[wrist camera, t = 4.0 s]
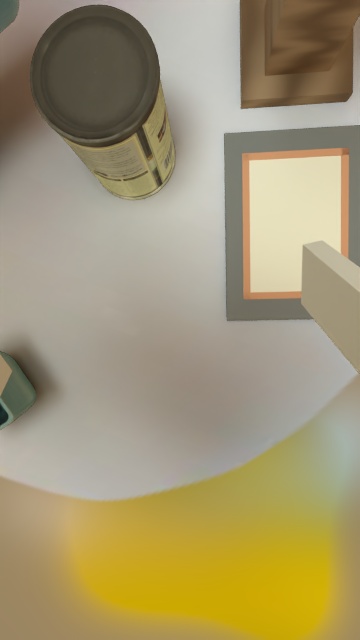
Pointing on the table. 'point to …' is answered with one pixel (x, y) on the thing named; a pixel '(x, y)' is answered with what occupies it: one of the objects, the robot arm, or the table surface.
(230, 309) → the pad
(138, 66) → the coffee can
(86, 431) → the table surface
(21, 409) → the flower pot
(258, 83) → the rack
